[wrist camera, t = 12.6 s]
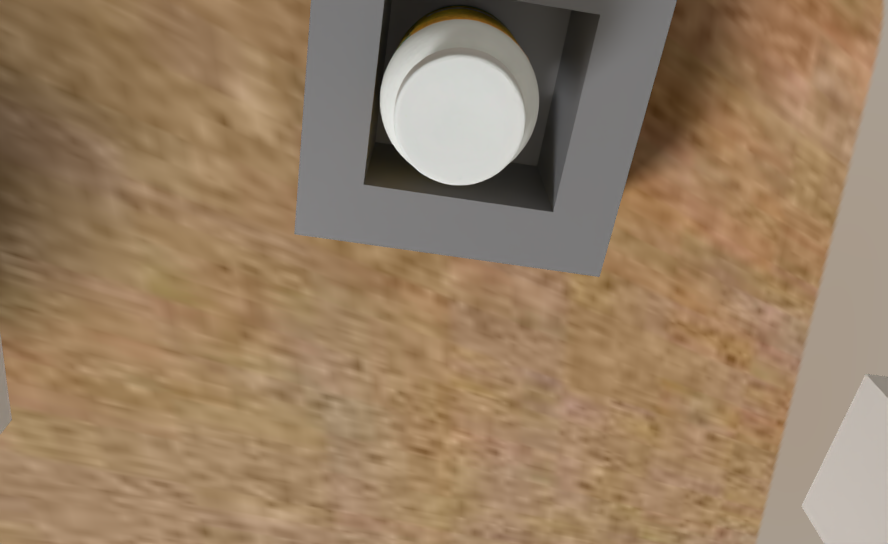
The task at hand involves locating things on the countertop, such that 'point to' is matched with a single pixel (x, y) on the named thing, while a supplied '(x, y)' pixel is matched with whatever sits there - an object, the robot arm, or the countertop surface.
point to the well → (526, 177)
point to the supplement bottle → (459, 96)
